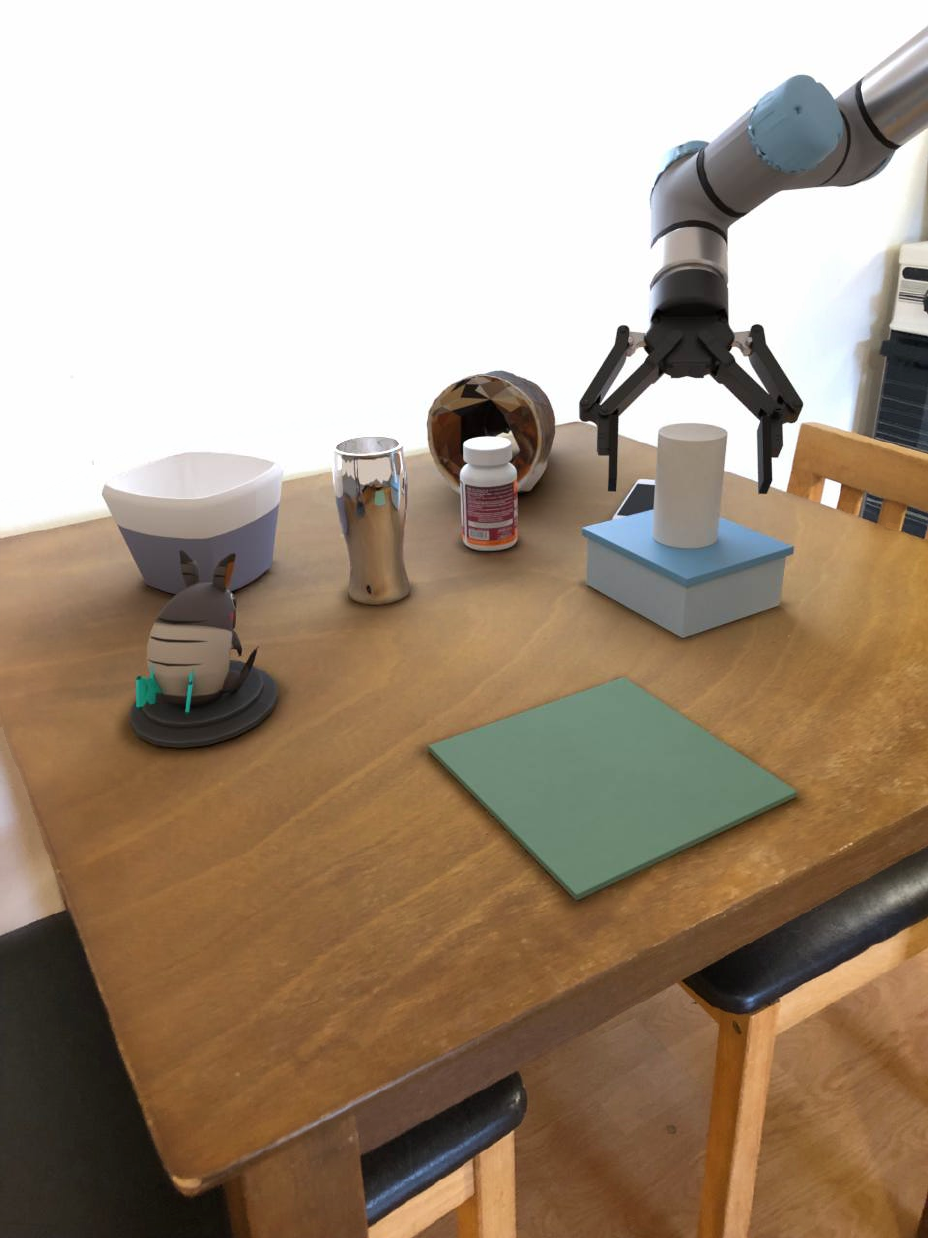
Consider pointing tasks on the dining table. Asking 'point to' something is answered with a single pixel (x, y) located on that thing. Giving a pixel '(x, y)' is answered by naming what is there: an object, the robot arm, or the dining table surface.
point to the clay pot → (492, 423)
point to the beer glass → (373, 515)
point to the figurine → (199, 668)
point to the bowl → (198, 515)
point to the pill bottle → (488, 494)
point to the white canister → (688, 484)
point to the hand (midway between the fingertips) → (687, 486)
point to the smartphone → (638, 499)
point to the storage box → (685, 573)
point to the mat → (607, 783)
